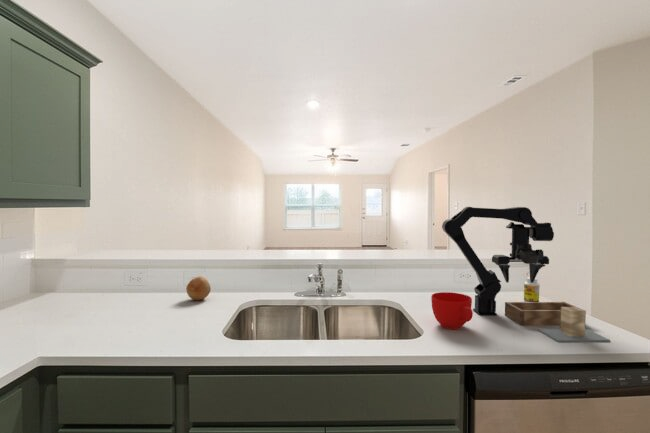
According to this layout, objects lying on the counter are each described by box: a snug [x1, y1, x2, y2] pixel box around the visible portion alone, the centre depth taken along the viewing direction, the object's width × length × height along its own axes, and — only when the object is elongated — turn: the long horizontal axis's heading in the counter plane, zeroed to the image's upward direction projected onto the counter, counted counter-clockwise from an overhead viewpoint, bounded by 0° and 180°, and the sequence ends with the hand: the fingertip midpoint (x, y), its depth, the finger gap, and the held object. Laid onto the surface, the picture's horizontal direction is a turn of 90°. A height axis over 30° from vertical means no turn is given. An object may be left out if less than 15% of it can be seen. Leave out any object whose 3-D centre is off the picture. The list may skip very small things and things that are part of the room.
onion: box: [185, 275, 211, 302], centre depth 157 cm, size 10×10×10 cm
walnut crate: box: [504, 301, 587, 327], centre depth 129 cm, size 22×11×5 cm, turn 91°
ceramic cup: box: [430, 291, 473, 330], centre depth 122 cm, size 13×17×10 cm
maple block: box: [560, 306, 586, 337], centre depth 114 cm, size 4×4×8 cm
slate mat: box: [537, 327, 611, 343], centre depth 115 cm, size 16×10×1 cm, turn 91°
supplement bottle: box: [523, 276, 540, 302], centre depth 152 cm, size 6×6×10 cm
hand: (519, 282), depth 136 cm, fingers open, 9 cm apart
